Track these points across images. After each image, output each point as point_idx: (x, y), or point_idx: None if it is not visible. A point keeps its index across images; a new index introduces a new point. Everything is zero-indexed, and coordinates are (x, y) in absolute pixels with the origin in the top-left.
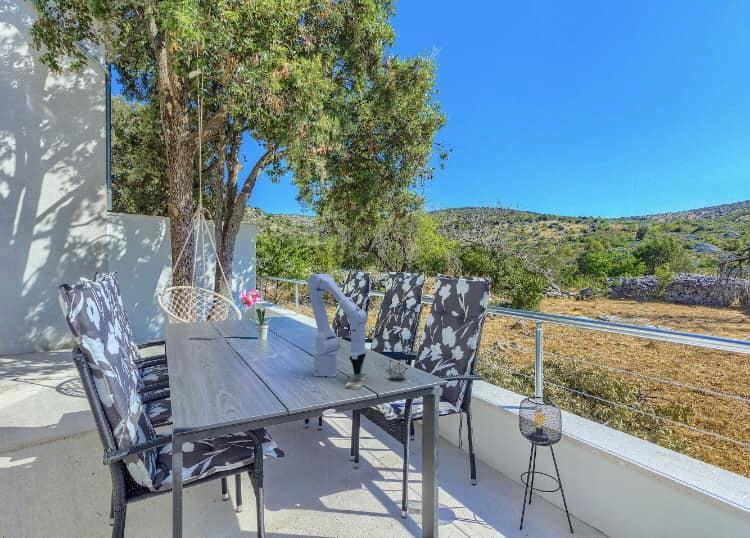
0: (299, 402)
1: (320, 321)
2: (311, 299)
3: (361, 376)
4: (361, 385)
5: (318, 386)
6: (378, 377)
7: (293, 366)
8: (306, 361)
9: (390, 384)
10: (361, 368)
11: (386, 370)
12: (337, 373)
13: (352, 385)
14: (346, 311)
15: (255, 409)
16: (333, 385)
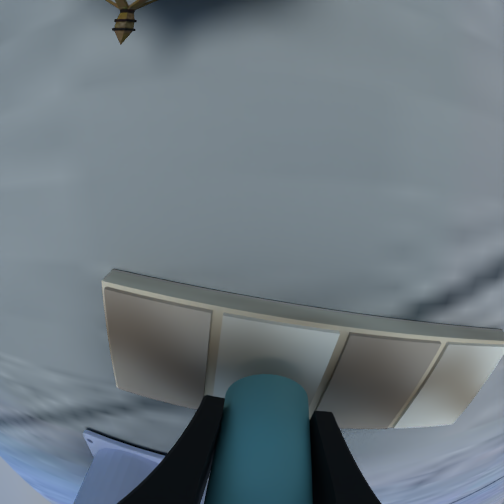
0: (499, 468)
1: None
2: None
3: (208, 348)
4: (462, 333)
5: None
6: (130, 147)
7: None
8: (19, 457)
9: (420, 27)
10: (281, 444)
11: (117, 23)
12: (121, 444)
13: (473, 391)
14: None
15: (482, 500)
16: (362, 460)
